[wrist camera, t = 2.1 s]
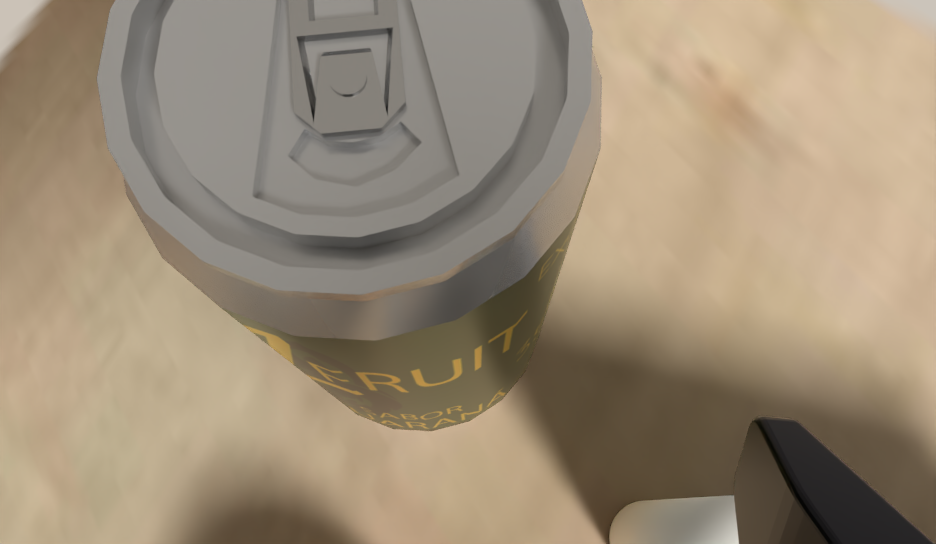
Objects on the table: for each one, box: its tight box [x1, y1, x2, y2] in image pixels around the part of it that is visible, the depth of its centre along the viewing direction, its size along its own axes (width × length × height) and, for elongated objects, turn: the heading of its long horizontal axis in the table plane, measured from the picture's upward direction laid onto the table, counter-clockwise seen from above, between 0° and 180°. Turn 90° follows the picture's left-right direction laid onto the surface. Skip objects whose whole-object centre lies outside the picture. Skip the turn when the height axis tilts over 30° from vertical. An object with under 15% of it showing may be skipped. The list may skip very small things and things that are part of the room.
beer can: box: [97, 0, 602, 431], centre depth 14 cm, size 5×5×12 cm
